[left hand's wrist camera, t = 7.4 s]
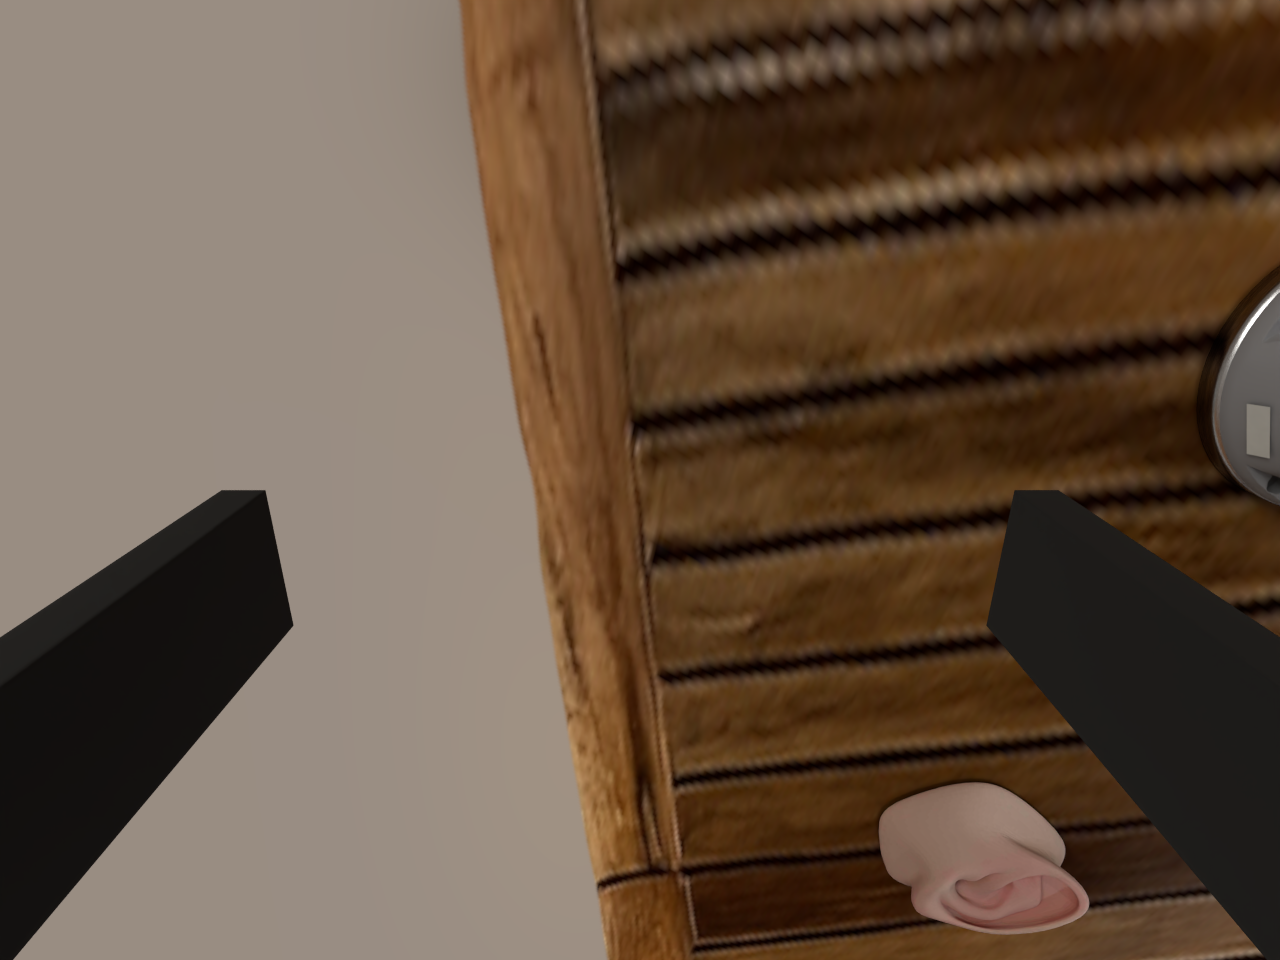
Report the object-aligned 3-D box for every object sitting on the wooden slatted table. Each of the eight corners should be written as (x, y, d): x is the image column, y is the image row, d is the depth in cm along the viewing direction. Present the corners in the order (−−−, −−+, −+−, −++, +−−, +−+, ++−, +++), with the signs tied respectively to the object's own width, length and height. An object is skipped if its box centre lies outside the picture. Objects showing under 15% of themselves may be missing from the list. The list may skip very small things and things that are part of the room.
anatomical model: (865, 876, 46) (1023, 793, 43) (848, 827, 50) (993, 747, 47) (963, 983, 50) (1114, 912, 47) (940, 930, 53) (1079, 861, 51)
